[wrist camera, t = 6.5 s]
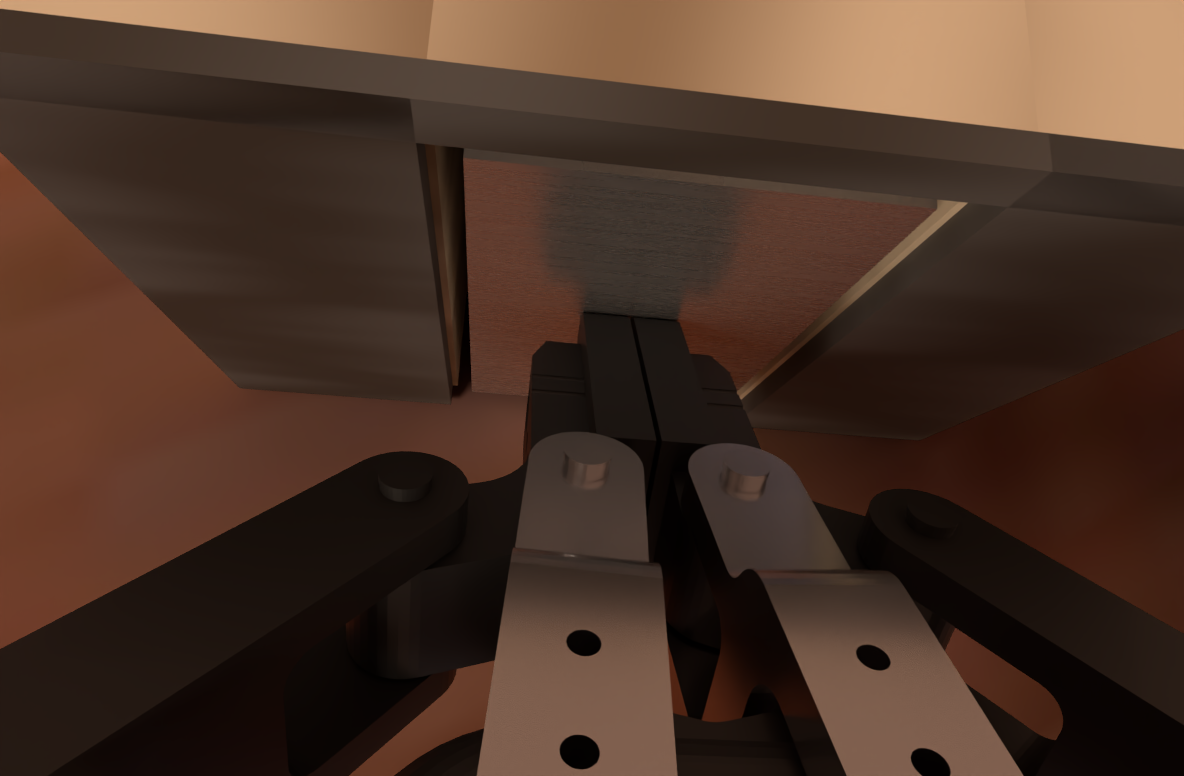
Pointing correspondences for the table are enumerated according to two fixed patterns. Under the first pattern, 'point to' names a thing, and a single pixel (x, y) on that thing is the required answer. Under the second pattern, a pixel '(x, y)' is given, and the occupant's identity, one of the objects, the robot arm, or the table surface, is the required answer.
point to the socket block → (630, 138)
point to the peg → (658, 257)
